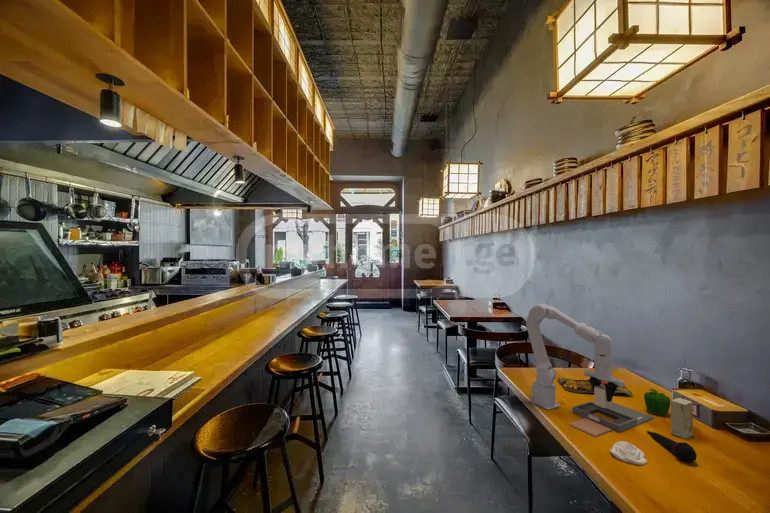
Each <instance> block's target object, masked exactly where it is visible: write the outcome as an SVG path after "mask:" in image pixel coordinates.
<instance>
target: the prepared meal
mask: <svg viewBox="0 0 770 513" xmlns="http://www.w3.org/2000/svg"><path fill="white" fill-rule="evenodd" d="M557 382H558V383H559V384H561V385H562V386H563V388H564V390H565V391H566V392H567V391H568V392H567V393H572V394H579V393H581V394H583V393H587V394H588V393H589V394H590V393H592V394H594V391H593V388H592V386H591V384H590V382H589V380H588V379H573V378H567V377H557ZM607 383H608V382H605V381H602V380H601V385H604V386H605V384H607ZM564 384H565V385H564ZM570 384H574V386H575V385H576V388H577V389H574V386H573V385H572V388H571V387H570ZM568 385H569V386H568ZM578 386H579V387H578ZM619 393H620V394H621V393H624V394H626V395H629V396H631V397H634V396H633V392H632V391H631V390H630V389H628V387H626V386H625V385H624V387H619V386H618V387H617V389H616V390H615V392H614V394H619Z"/></svg>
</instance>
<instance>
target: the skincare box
mask: <svg viewBox="0 0 770 513" xmlns="http://www.w3.org/2000/svg"><path fill="white" fill-rule="evenodd" d="M693 403H694V402H693V401H691V400H688V399H684V398H680V397H676V398H674V399H672V400H671V399H670V434H671V435H674V436H676V437H679V438H682V439H684V440H686V439H688V438H690V437H692V436H694V430H693V429H694V428H693V427H694V426H693V425H694V420H693V419H694V417H693V413H694V412H693V409H694V406H693Z"/></svg>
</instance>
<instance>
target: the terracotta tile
mask: <svg viewBox="0 0 770 513" xmlns="http://www.w3.org/2000/svg"><path fill="white" fill-rule="evenodd" d="M568 426H570V427H573V428H574V429H577V430H579V431H581V432H583V433H585V434H587V435H590V436H591V437H594V438H598V437H600V436H602V435H605V434H608V433H611V432H613V430H612V429H610V428H608V427H605V426H603V425H601V424H598V423H596V422H594V421H591V420H589V419H587V418H584V417H583V418H581V419H578V420H575V421H572V422H569V423H568Z"/></svg>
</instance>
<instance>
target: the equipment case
mask: <svg viewBox="0 0 770 513" xmlns="http://www.w3.org/2000/svg"><path fill="white" fill-rule="evenodd" d="M571 407H572V408H571V409H572V414H575V415H577V416H579V417H581V418H583V419H584V418H587V419H589V420H591V421H594V422H596V423H598V424H601V425H603V426H605V427H608V428H610V429H612V431H614V432H616V433H619V434H620V433H623V432H625V431H627V430H629V429H631V428H635V427H637V426H639V425H642V424H645V423H647V422H650V421H652V420H654V419H655V417H654V416H652V415H650V414H648V413H644V412H641V411H638V410H635V409H633V408H629V407H627V406H624V405H622V404H618V403H616V402H614V401H612V406H610V407H607V408H603V407H600V406H597V405H595V404H594V402H593V401H591V400H590V401H587V402H584V403H580V404H577V405H574V406H571ZM596 413H597V414H600V415H602V416H606V417H608V418H611V419H612V421H610V420H608V419H605V418H604V417H601V416H600V415H599V416H598V415H596Z"/></svg>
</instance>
